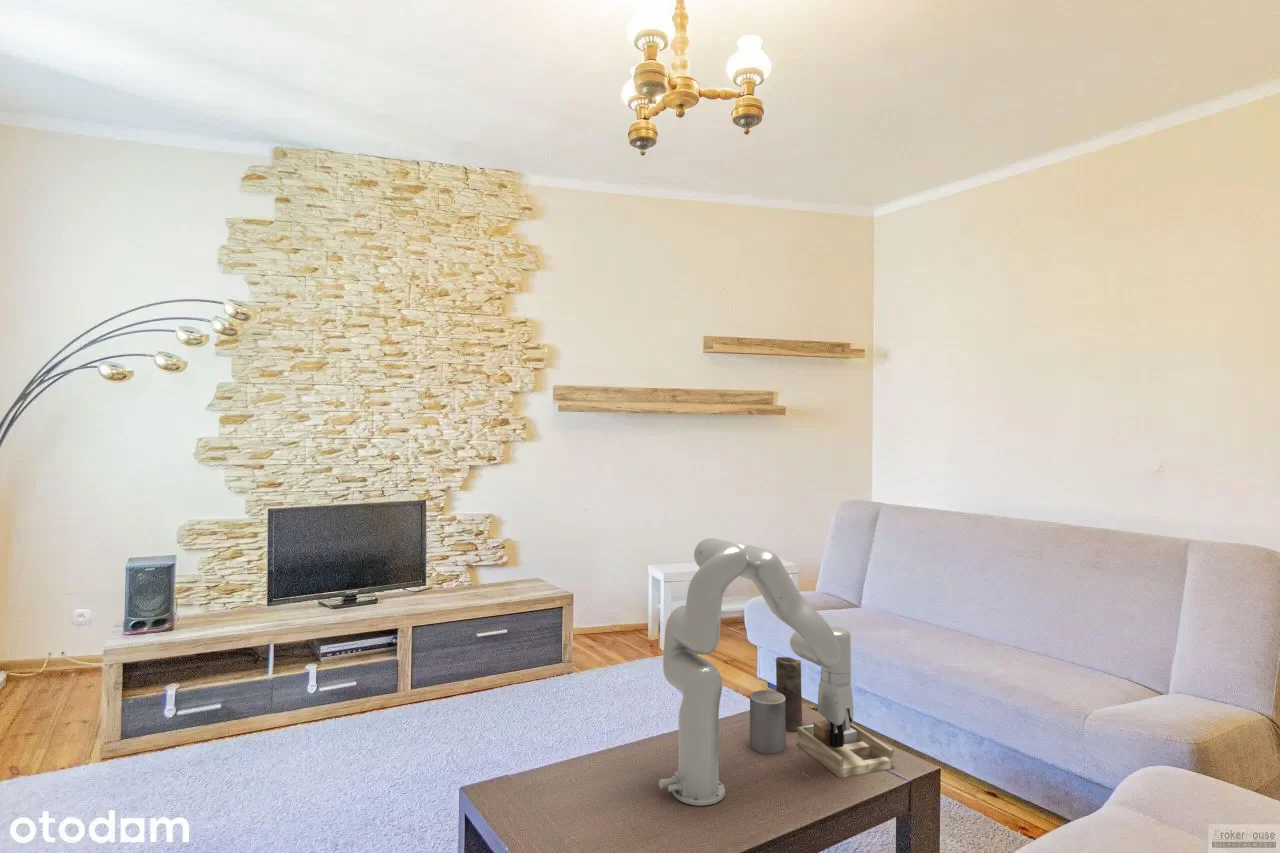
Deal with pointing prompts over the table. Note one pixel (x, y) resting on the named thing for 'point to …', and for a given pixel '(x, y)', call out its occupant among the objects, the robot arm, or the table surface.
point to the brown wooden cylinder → (790, 690)
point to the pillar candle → (767, 721)
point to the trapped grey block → (850, 736)
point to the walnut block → (822, 732)
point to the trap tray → (848, 753)
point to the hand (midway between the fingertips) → (836, 745)
